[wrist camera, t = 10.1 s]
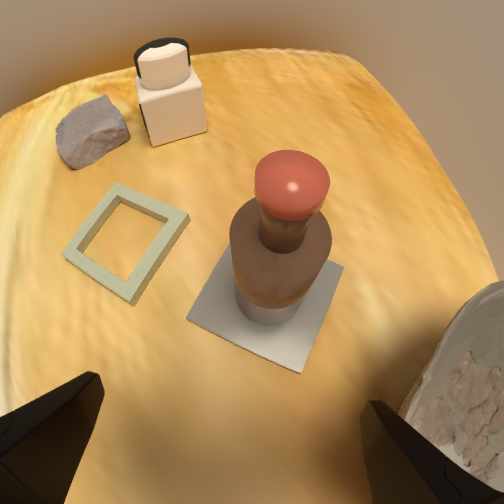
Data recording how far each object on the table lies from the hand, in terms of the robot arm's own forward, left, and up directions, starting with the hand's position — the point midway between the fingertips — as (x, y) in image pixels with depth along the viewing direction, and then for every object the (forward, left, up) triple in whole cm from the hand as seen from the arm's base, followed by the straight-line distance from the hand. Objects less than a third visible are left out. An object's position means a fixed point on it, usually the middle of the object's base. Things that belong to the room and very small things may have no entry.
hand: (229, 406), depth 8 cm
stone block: (+17, +32, -14) cm, 39 cm away
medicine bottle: (+24, +22, -14) cm, 35 cm away
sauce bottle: (+8, +2, -13) cm, 16 cm away
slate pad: (+9, +2, -14) cm, 16 cm away
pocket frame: (+7, +16, -14) cm, 22 cm away
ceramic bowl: (+3, -19, -14) cm, 24 cm away
